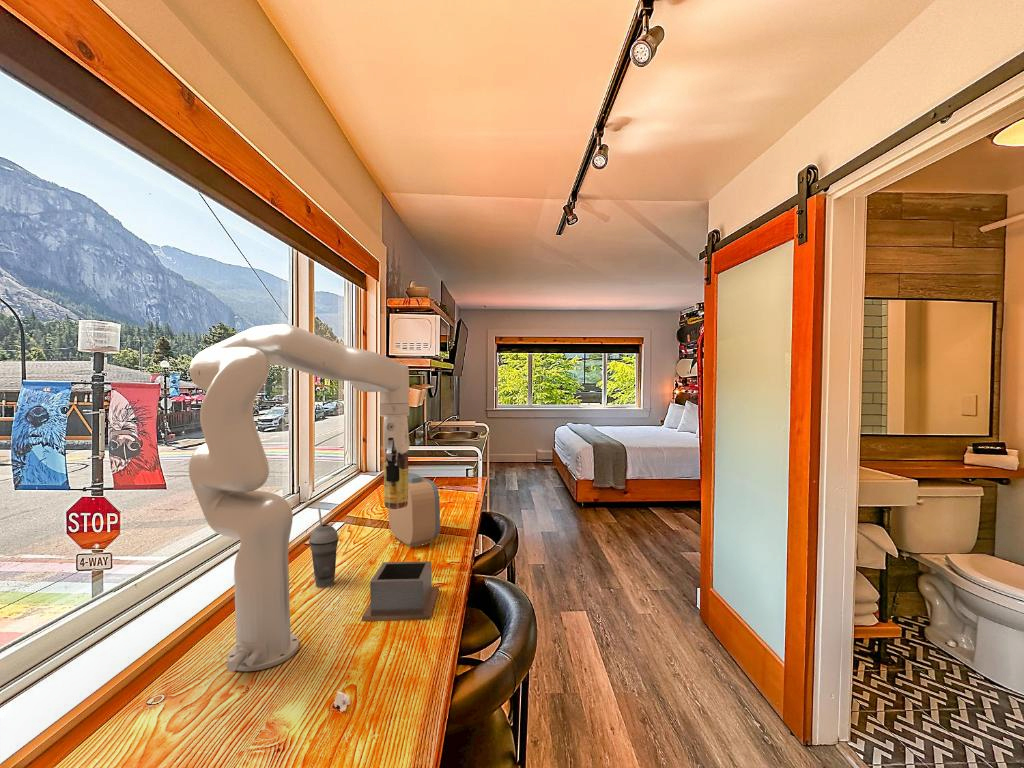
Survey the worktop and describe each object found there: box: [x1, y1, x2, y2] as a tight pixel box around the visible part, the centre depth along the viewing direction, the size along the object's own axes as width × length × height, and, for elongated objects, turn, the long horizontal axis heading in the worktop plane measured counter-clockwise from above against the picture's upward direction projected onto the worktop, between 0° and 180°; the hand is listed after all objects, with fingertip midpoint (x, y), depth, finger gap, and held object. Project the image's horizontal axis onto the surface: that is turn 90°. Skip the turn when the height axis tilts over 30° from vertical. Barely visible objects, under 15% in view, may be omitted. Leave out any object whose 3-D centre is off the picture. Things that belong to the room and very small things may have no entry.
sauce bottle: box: [383, 452, 409, 509], centre depth 132 cm, size 6×6×20 cm
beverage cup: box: [308, 507, 340, 589], centre depth 131 cm, size 7×7×20 cm
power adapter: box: [333, 690, 351, 713], centre depth 82 cm, size 3×3×3 cm
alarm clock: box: [387, 472, 441, 548], centre depth 166 cm, size 21×10×22 cm, turn 34°
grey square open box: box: [361, 560, 440, 622], centre depth 119 cm, size 15×15×8 cm
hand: (396, 478), depth 132 cm, fingers closed on sauce bottle, 6 cm apart
